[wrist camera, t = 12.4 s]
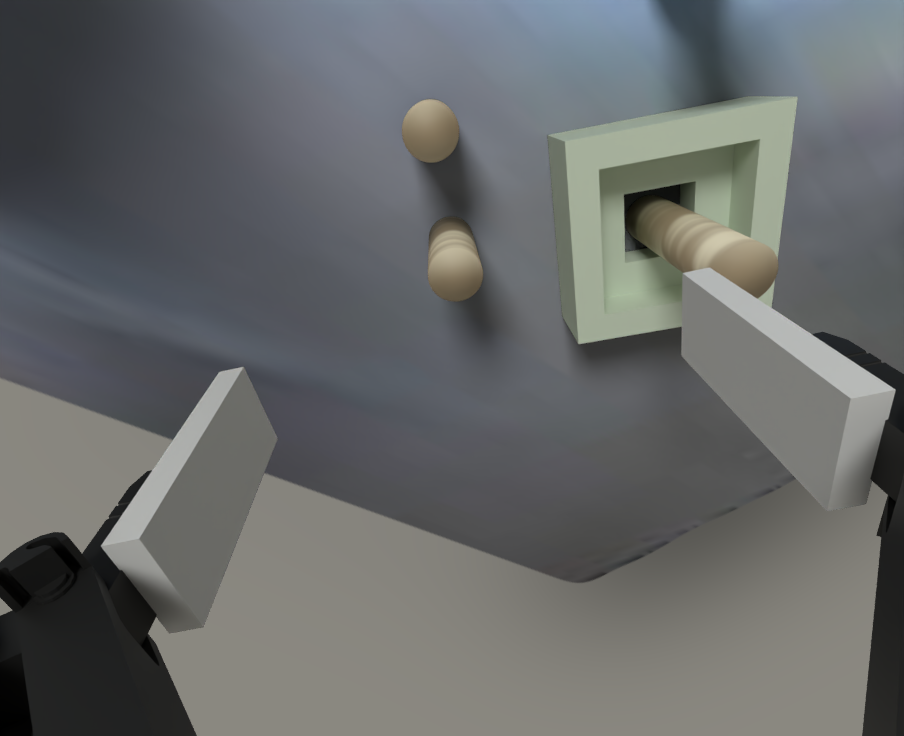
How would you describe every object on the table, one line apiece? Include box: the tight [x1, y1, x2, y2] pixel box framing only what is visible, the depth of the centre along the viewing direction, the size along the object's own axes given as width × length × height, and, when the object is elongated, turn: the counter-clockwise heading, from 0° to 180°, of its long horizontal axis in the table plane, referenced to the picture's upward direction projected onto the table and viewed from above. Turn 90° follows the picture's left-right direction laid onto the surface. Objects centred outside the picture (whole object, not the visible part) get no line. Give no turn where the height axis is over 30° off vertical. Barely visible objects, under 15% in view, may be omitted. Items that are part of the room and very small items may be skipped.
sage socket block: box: [547, 96, 797, 344], centre depth 37 cm, size 14×14×6 cm
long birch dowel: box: [625, 195, 778, 299], centre depth 33 cm, size 3×3×14 cm
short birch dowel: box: [402, 99, 459, 163], centre depth 33 cm, size 3×3×6 cm
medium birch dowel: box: [428, 217, 483, 301], centre depth 36 cm, size 3×3×9 cm
